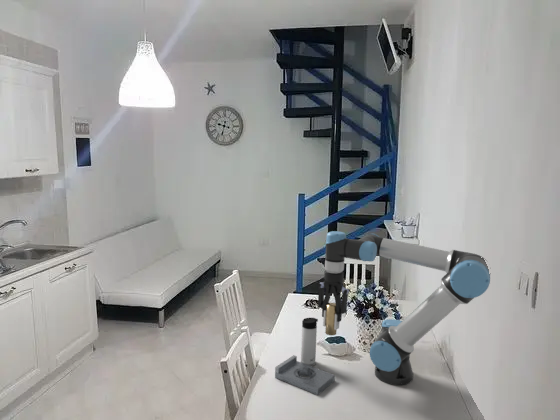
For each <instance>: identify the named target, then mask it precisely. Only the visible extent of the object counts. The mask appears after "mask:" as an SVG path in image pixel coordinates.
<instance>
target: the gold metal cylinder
mask: <svg viewBox="0 0 560 420" xmlns="http://www.w3.org/2000/svg"><path fill="white" fill-rule="evenodd" d="M336 313H337V310H336V303H335V302H329V303H327V311H326V326H325V332H324V333H325V335H328V336H336V335H337V330H338V329H337V330H334V322H335V314H336Z"/></svg>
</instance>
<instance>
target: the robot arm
mask: <svg viewBox="0 0 560 420" xmlns="http://www.w3.org/2000/svg"><path fill="white" fill-rule="evenodd" d="M377 256H378V257H383V258H386V259H390V260H391V259H392V260H395V261H400V262H404V263H408V264H412V265H417V266H421V267H426V268H429V269H434V270H438V271H442V272H445V273H446V274H445V275H444V276H443V277H442V278H441V279H440V282H441V284H440V286H439V287H437V289H435V290H434V291H433V292H432V293H430V295H429V296H428V297H427V298H426V299H424V301H422V302H421V303H420V304H419V305H418V306H417V307H416V308H415V309H414V310H412V311H411V312H410V313H409V314H408V315H407V316H406V317H405V318H404V319H403V320H400V319H391V318H390V319H384V320H383V321H382V323H381V330H380V331H381V332H380V333H379V335H377V338H376V339H375V340H374V342H372V344H371V345H370V348H369V358H370V360H371V362H372V364H373V365H374V366H375V367H374V375H375V376H376V378H377V379H378V380H380V381H381V382H384V383H386V384H389V385H394V386H395V385H396V386H403V385H409V384H410V383H412V381H413V378H414V372H413V368H412V364H411V362H410V360H411V359H410V356H411V354H412V353H414V351H415V350H414V349H415V348H414V345H415V344H416V343H418V342H419V341H420V340H422V338H423V337H424V336H425V335H427V334H428V333H429V332H430V331H431V330H432V329H433V328H435V326H437V325H438V324H439V323H440V322H441V321H442V320H444V319H445V318H446V317H447V316H448V315H450V313H451V312H453V311H454V310H455V309H456V308H457V307H458V306H460V305H468V304H469V303H471V301H473V299H475V298H477V297H478V298H479V297H481V296H482V295H484V294H485V292H486V291H487V290H488V289H489V287H490V284H491V273H490V274H489V269H488V266H487V264H486V262H485V260H486V259H485V258H484V257H483V256H482V255H480V254H477V253H471V252H466V251H461V250H456V249H452V250H449V251H448V250H443V249H439V248H435V247H430V246H424V245H418V244H415V243H414V244H413V243H410V242H404V241H401V240H395V239H389V238H386V237H381V236H379V234H378V235H377V234H376V233H368V234H365V235H364V236H363V237H361V238H360V239H351V238H347V234H346V233H345V231H340V230H339V231H336V230H334V231H333V230H332V231H329V232H327V233H326V240H325V257H324V259H325V261H324V275H323V277H324V278H323V279H324V280H323V282H318V283H317V288H318V295H317V297H318V298H317V307H318V308H321V309H322V310H321V317H322V320H323V322H322V326H323V327H326V311H327V303H330V300H331V296H332V294H333V297H334V301H335V302H334V303H336V310H337V313H336V314H335V322H334V330H338V329H340V322H342V315H343V314H346V313H347V311H348V298H349V293H350V289H349V288H346V287H344V284H343V283H344V277H345V275H344V274H345V273H344V270H345V259H351V260H357V261H362V262H374V261H375V259H376V258H377ZM481 257H482V258H481ZM484 259H485V260H484ZM341 293H342V294H341Z"/></svg>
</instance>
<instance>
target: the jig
mask: <svg viewBox="0 0 560 420" xmlns="http://www.w3.org/2000/svg"><path fill="white" fill-rule="evenodd" d="M297 358H298V357H297V355H293V354H292V356H290V357H289V358H286V360H284V361H282V362H281V363H280V364H278V365H277V366H275V368H274V370H275V372H274V378H275V379H277V380H280V381H282V382H285V383H287V384H289V385H292V386H294V387H297V388H299V389H301V390H304V391H307V392H309V393H311V394H314V395H316V396H318V395H320V394H321V393H323V391H325V390H326V389H327V388H328V387H329V386H330V385H332V384H333V383H334V382H335V379H336V378H335V377H336V375H335V374H333V373H330V372H327V371H325V370H322V369H319V368H317V367H316V366H315V367H314V366H309V365H306V364H304V363H301V361H298V360H297ZM303 376H304V377H303ZM305 376H306V377H305Z"/></svg>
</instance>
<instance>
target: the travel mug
mask: <svg viewBox="0 0 560 420" xmlns="http://www.w3.org/2000/svg"><path fill="white" fill-rule="evenodd" d="M301 321H302V325H301V347H300V355H301V356H300V362H301V363H304V364H306V365H309V366H312V367H314V366H315V365H316V359H317V358H316V355H317V354H316V353H317V333H318V331H317V328H318V326H317V324H318V322H319V319H318V318H316V317H305V318H304V319H302V320H301Z"/></svg>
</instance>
